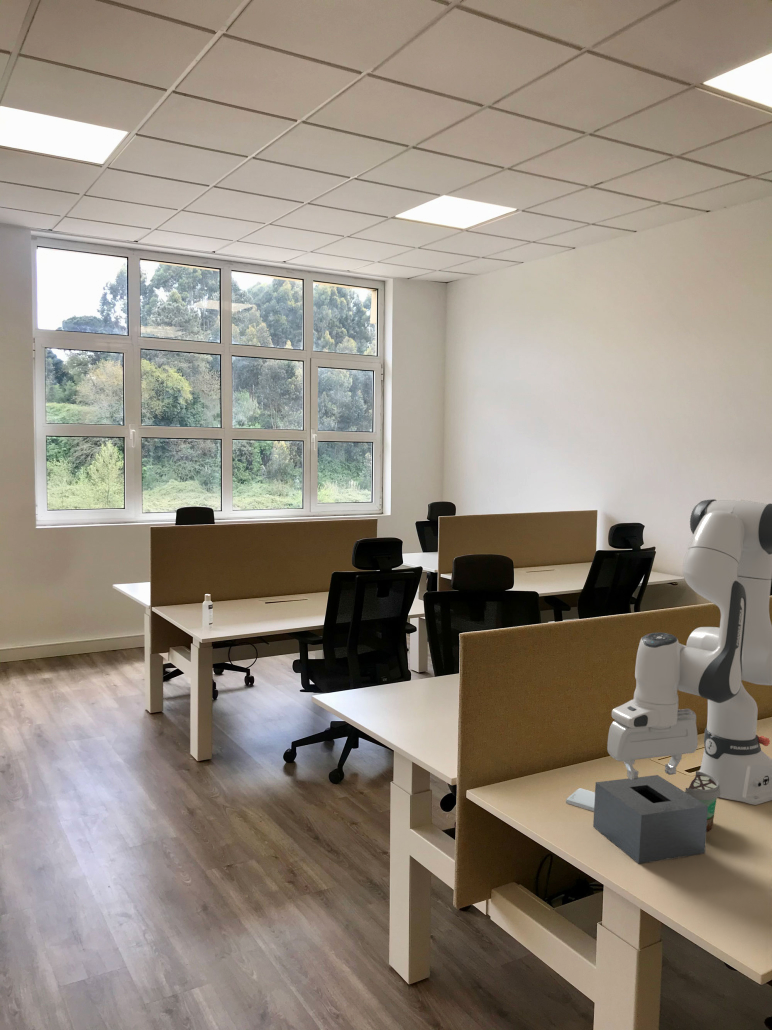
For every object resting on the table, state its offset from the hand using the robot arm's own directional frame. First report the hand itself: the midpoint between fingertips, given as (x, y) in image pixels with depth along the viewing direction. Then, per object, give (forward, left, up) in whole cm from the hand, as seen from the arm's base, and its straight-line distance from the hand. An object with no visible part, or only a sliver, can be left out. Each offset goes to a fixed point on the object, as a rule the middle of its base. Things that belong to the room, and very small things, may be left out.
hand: (651, 776), depth 166 cm
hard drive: (+1, -17, -15) cm, 23 cm away
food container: (-16, -2, -14) cm, 21 cm away
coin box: (0, 0, -14) cm, 14 cm away
